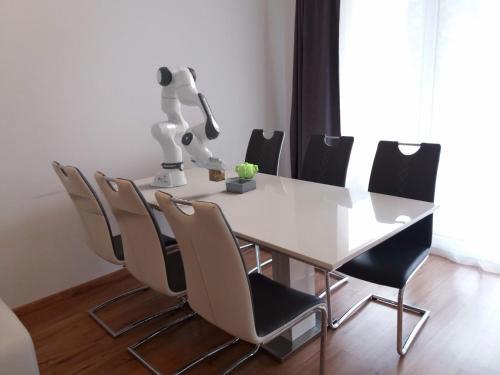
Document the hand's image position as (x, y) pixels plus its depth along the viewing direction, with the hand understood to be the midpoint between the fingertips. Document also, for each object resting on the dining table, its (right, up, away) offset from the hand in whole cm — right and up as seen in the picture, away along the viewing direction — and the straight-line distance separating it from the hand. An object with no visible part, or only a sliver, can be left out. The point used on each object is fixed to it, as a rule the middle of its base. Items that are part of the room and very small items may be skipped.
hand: (217, 171), depth 224 cm
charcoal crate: (+13, -10, +7) cm, 18 cm away
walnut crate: (0, -5, +1) cm, 5 cm away
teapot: (+16, -3, +38) cm, 41 cm away
